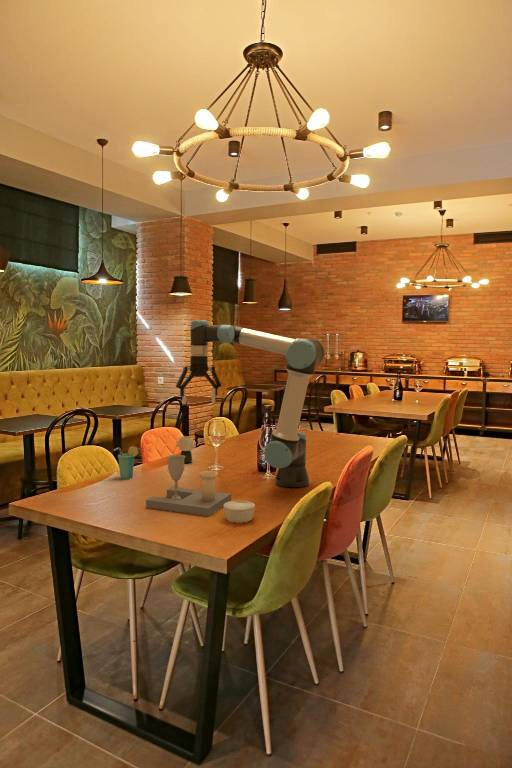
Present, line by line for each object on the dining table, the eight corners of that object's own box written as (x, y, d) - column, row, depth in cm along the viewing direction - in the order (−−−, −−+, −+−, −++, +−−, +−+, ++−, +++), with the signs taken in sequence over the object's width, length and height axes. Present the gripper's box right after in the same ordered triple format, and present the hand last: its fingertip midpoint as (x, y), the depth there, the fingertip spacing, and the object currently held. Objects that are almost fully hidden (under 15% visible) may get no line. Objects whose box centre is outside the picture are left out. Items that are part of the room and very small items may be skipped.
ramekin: (254, 514, 201) (254, 499, 200) (255, 524, 190) (255, 509, 189) (223, 514, 200) (223, 499, 200) (223, 524, 189) (223, 509, 189)
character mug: (198, 462, 283) (198, 437, 282) (192, 465, 276) (192, 439, 275) (179, 460, 286) (179, 435, 285) (173, 463, 280) (173, 437, 278)
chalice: (169, 506, 208) (169, 459, 207) (164, 501, 214) (164, 455, 213) (188, 503, 212) (188, 457, 210) (182, 498, 218) (182, 454, 216)
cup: (120, 483, 240) (119, 449, 239) (107, 480, 244) (107, 447, 243) (142, 476, 252) (142, 444, 251) (129, 474, 256) (129, 442, 255)
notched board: (231, 501, 216) (231, 468, 214) (208, 516, 197) (208, 480, 196) (172, 493, 225) (172, 462, 224) (146, 507, 206) (146, 473, 205)
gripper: (222, 355, 250) (222, 401, 252) (169, 355, 240) (169, 403, 242) (228, 355, 243) (228, 403, 245) (173, 355, 233) (173, 405, 235)
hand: (198, 403), depth 243 cm, fingers open, 13 cm apart
